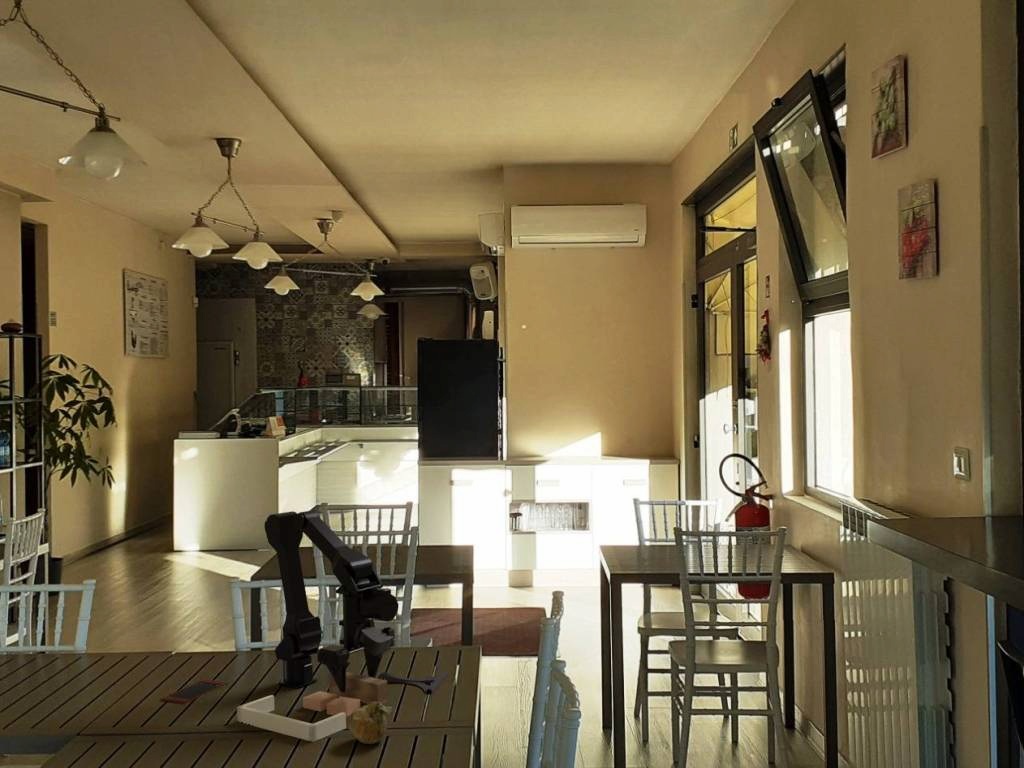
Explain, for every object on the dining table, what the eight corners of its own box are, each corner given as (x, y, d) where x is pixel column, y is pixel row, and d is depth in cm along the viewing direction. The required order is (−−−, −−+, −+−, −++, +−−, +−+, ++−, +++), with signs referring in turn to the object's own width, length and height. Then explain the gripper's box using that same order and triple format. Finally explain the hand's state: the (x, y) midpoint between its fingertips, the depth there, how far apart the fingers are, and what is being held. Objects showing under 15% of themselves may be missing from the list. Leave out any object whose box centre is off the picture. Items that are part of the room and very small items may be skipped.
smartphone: (159, 698, 222) (204, 678, 236) (159, 702, 222) (204, 682, 236) (185, 701, 219) (229, 681, 233) (185, 706, 219) (229, 686, 233)
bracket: (388, 675, 240) (387, 663, 240) (448, 677, 237) (448, 665, 237) (368, 694, 226) (368, 682, 226) (432, 696, 223) (432, 684, 223)
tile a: (303, 709, 215) (303, 697, 215) (319, 702, 220) (319, 691, 220) (320, 712, 213) (320, 701, 213) (336, 706, 217) (336, 694, 217)
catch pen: (237, 721, 207) (237, 707, 207) (271, 709, 215) (270, 695, 215) (313, 741, 195) (312, 726, 195) (346, 728, 202) (345, 713, 202)
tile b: (326, 715, 211) (326, 703, 211) (340, 708, 215) (340, 696, 215) (346, 718, 209) (346, 706, 209) (360, 711, 213) (360, 699, 213)
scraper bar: (329, 695, 224) (328, 673, 224) (339, 692, 226) (338, 670, 226) (378, 707, 215) (377, 684, 215) (387, 703, 217) (387, 680, 217)
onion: (378, 731, 200) (377, 691, 200) (395, 743, 193) (394, 701, 193) (342, 739, 196) (341, 698, 196) (359, 752, 189) (358, 709, 189)
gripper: (352, 629, 208) (354, 704, 208) (412, 611, 224) (413, 681, 224) (314, 622, 215) (316, 695, 215) (374, 605, 230) (376, 673, 230)
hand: (357, 686), depth 221 cm, fingers open, 9 cm apart
